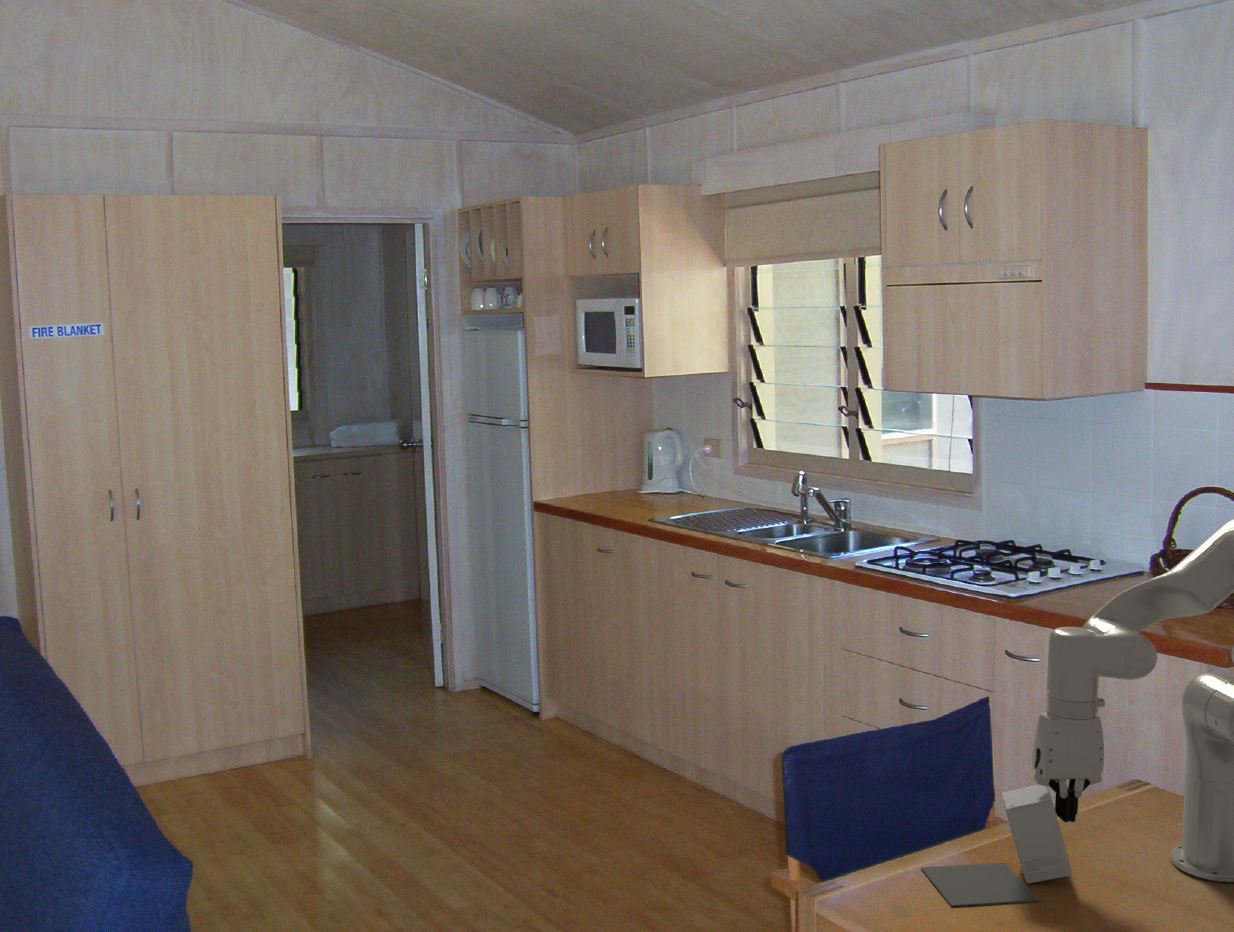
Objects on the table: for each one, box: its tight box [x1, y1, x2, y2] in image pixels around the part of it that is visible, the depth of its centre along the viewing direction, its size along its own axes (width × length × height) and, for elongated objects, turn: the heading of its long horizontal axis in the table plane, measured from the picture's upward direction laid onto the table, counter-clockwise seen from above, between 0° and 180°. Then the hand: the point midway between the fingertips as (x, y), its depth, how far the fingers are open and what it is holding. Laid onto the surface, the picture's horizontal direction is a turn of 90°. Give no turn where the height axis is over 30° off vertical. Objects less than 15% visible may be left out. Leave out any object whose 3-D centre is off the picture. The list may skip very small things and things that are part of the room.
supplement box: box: [1000, 784, 1073, 884], centre depth 196 cm, size 7×7×13 cm
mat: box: [920, 862, 1041, 908], centre depth 194 cm, size 14×13×1 cm
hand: (1065, 818), depth 195 cm, fingers closed
